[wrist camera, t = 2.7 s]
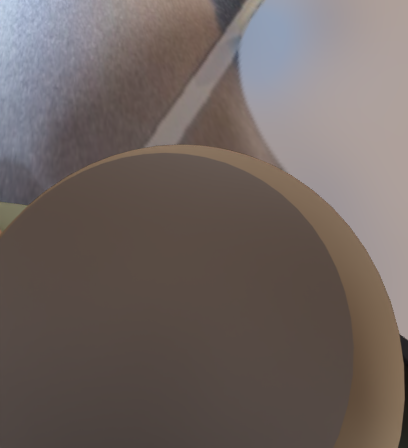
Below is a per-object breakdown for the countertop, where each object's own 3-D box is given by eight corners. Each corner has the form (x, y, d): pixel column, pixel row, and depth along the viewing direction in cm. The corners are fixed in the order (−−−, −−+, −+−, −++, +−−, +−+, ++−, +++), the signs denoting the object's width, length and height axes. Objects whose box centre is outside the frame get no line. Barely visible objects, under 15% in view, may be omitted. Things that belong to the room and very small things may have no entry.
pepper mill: (252, 425, 14) (604, 997, 1) (138, 405, 15) (-381, 712, 2) (261, 306, 16) (442, 101, 3) (160, 292, 17) (-15, 62, 4)
